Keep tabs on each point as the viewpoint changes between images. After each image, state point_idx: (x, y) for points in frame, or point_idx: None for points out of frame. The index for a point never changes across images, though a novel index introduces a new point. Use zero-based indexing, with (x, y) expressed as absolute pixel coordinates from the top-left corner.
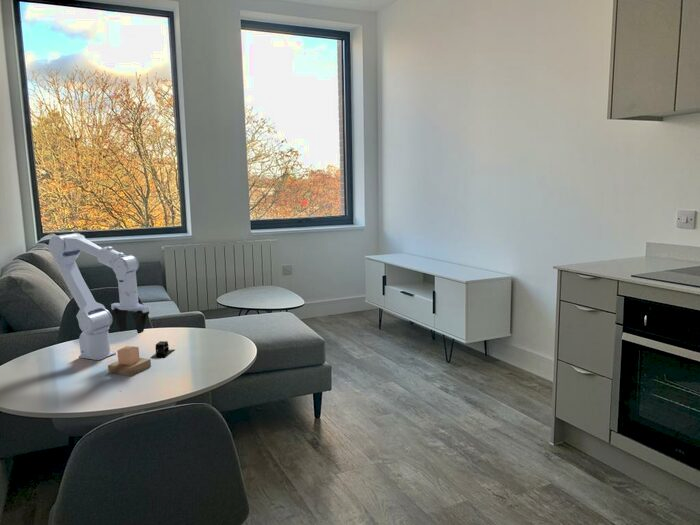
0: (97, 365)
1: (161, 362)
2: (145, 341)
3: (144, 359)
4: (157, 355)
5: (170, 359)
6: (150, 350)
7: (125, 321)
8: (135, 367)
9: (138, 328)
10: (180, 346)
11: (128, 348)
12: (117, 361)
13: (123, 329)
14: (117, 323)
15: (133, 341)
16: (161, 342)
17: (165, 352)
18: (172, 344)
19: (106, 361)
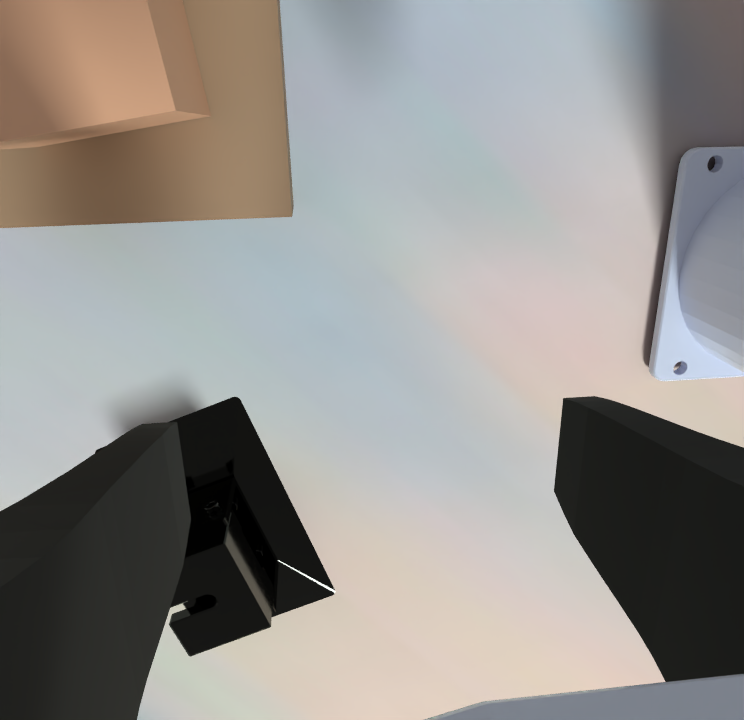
0: (588, 26)
1: (10, 353)
2: (618, 674)
3: (11, 196)
4: (207, 468)
5: (8, 447)
6: (405, 547)
7: (634, 601)
8: None
9: (89, 461)
10: (235, 702)
11: (15, 9)
12: (271, 3)
13: (568, 449)
14: (711, 438)
15: None
16: (220, 610)
17: None
18: (342, 708)
19: (584, 166)
